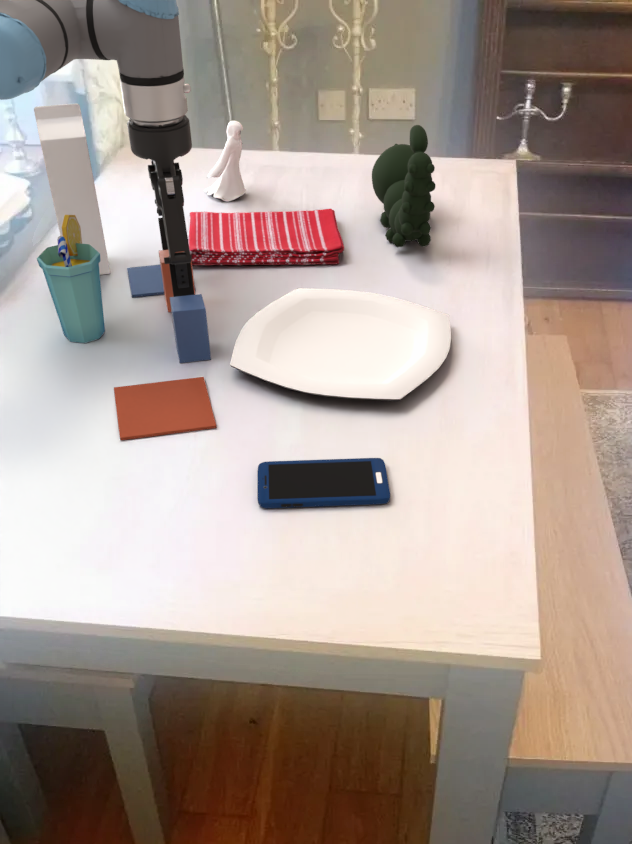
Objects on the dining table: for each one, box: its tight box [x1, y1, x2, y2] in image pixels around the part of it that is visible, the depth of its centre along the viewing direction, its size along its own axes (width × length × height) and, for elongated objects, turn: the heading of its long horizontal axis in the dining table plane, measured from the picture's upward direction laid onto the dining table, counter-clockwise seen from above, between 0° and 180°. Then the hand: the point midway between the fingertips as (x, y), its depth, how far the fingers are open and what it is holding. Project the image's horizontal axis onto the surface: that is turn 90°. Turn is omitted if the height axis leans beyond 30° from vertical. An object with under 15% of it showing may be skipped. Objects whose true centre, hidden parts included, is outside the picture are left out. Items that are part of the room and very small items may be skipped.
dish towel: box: [187, 208, 345, 266], centre depth 139 cm, size 17×24×3 cm
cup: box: [36, 215, 106, 344], centre depth 113 cm, size 14×8×15 cm, turn 12°
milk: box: [33, 103, 111, 276], centre depth 126 cm, size 6×6×22 cm
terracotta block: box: [158, 249, 196, 313], centre depth 123 cm, size 4×4×7 cm
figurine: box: [203, 120, 247, 202], centre depth 149 cm, size 8×8×12 cm
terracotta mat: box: [113, 376, 218, 441], centre depth 106 cm, size 11×11×1 cm
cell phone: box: [256, 457, 391, 509], centre depth 96 cm, size 7×14×1 cm, turn 94°
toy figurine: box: [371, 124, 436, 248], centre depth 137 cm, size 9×19×25 cm
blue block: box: [170, 293, 212, 364], centre depth 113 cm, size 4×4×7 cm
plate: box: [229, 287, 452, 401], centre depth 115 cm, size 27×27×2 cm
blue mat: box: [126, 264, 197, 298], centre depth 130 cm, size 9×9×1 cm
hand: (179, 285), depth 123 cm, fingers open, 13 cm apart
